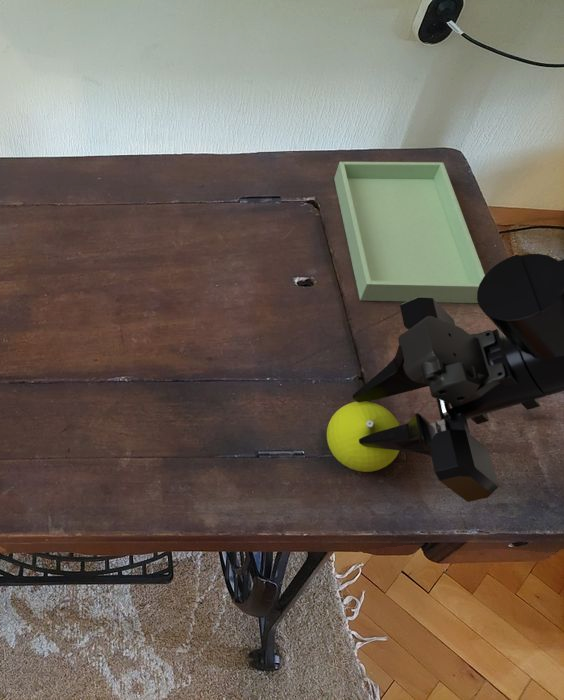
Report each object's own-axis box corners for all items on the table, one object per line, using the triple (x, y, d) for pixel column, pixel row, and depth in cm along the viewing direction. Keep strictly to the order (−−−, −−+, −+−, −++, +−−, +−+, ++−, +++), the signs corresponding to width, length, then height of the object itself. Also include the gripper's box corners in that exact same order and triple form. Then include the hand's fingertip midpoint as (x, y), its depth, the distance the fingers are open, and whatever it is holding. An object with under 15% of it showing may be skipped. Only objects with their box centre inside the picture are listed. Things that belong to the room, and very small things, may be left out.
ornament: (324, 481, 67) (350, 435, 59) (315, 422, 71) (338, 371, 63) (395, 484, 67) (431, 438, 59) (382, 424, 71) (413, 372, 63)
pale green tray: (435, 179, 93) (443, 162, 91) (478, 303, 80) (489, 286, 77) (334, 178, 95) (339, 161, 92) (359, 300, 81) (366, 284, 79)
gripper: (463, 230, 55) (303, 307, 65) (522, 422, 44) (319, 478, 54) (517, 296, 61) (362, 357, 71) (581, 480, 50) (388, 521, 60)
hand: (357, 420), depth 64 cm, fingers closed on ornament, 5 cm apart
